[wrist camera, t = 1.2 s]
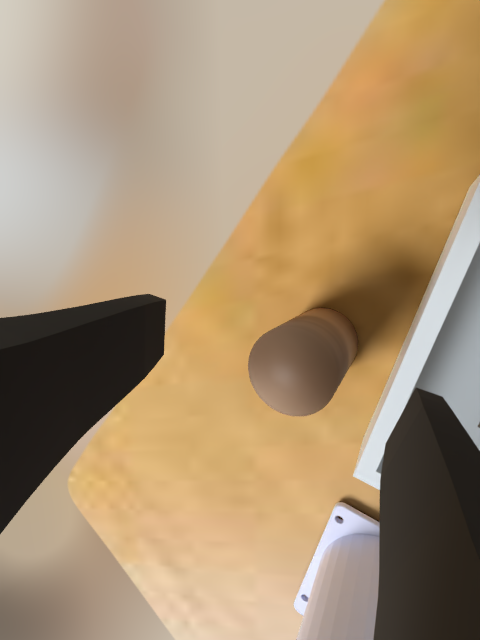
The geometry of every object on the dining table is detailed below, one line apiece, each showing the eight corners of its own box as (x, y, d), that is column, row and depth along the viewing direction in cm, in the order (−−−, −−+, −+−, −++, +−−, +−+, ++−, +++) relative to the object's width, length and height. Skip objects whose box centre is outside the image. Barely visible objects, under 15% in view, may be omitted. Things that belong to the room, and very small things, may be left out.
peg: (344, 385, 20) (319, 432, 15) (282, 358, 21) (239, 392, 16) (368, 321, 19) (351, 348, 13) (300, 298, 20) (261, 313, 15)
